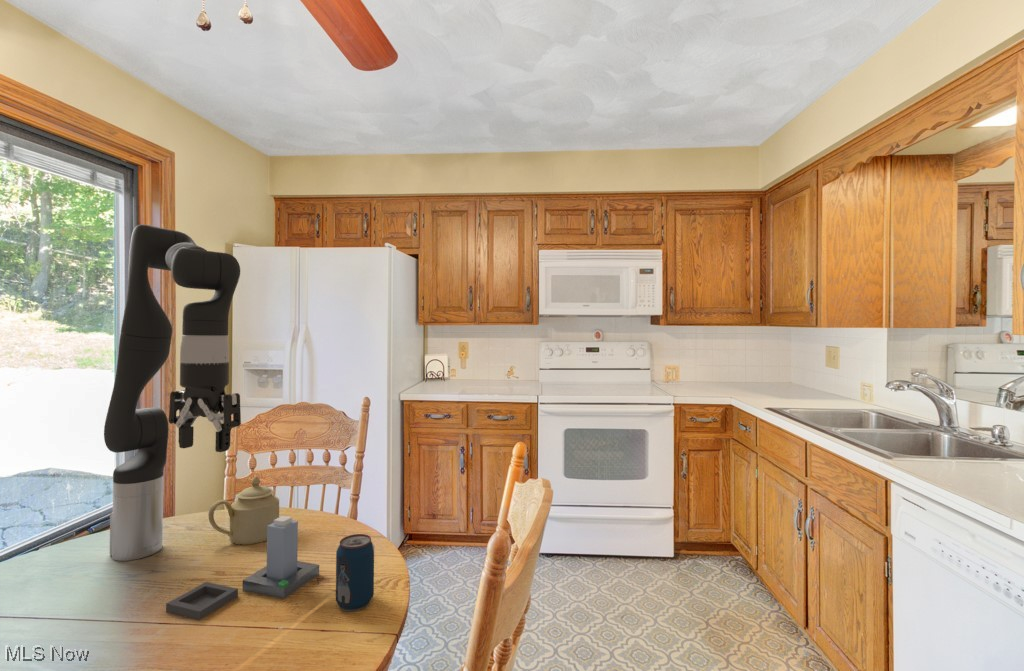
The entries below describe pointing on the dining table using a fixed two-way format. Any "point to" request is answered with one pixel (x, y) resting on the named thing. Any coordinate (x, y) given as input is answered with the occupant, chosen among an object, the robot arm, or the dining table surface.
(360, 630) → the dining table surface
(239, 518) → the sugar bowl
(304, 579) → the port
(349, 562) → the soda can
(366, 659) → the dining table surface
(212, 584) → the holster
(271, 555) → the plug
